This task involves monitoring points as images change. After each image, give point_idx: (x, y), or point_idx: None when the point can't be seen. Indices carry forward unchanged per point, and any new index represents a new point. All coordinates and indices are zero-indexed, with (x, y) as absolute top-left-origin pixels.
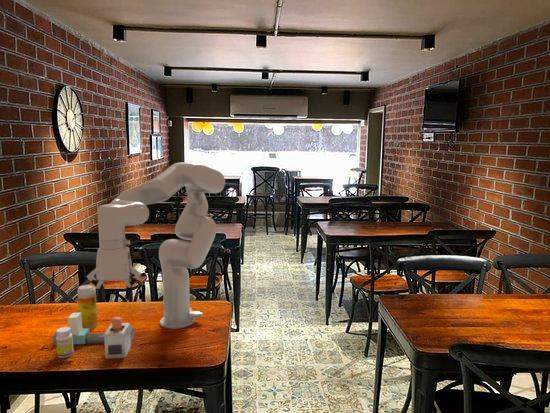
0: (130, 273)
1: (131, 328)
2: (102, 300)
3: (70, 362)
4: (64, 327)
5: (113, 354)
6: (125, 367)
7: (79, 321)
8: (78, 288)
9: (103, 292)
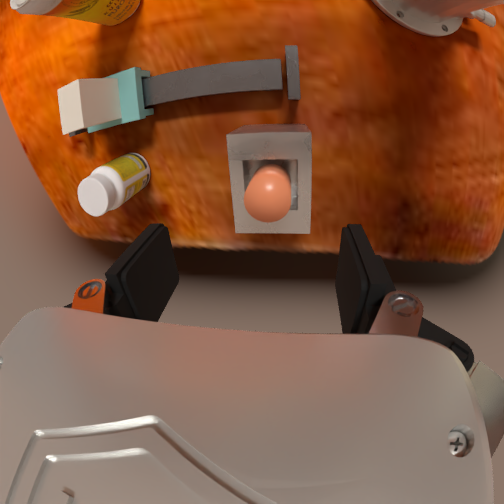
0: (448, 353)
1: (292, 62)
2: (178, 278)
3: (167, 212)
4: (86, 183)
5: None
6: (316, 249)
7: (97, 100)
8: (11, 7)
9: (154, 281)
